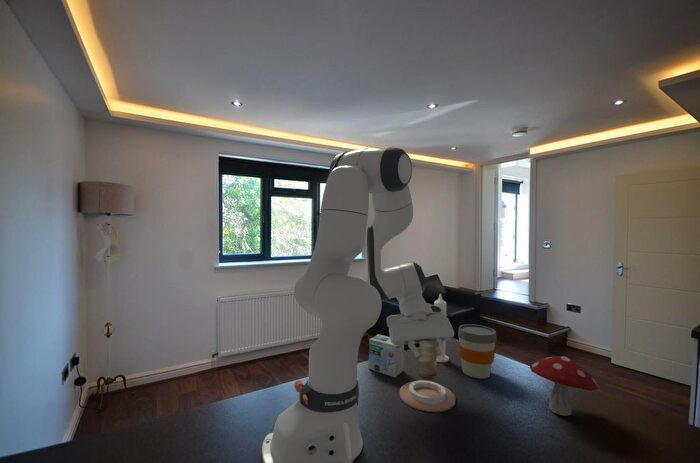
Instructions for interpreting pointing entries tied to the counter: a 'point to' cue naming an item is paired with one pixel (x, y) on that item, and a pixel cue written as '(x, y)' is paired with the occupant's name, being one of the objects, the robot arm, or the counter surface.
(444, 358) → the candle
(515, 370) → the counter surface
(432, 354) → the beige cylinder
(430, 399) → the collar dish
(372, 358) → the light bulb box
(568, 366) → the decorative mushroom
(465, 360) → the reusable coffee cup
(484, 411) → the counter surface
